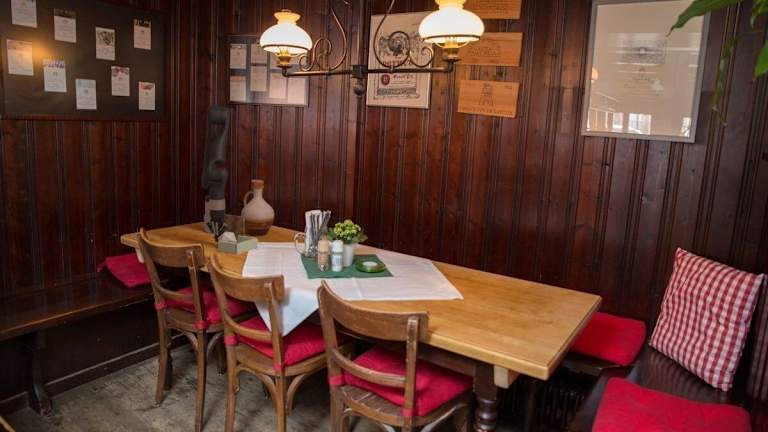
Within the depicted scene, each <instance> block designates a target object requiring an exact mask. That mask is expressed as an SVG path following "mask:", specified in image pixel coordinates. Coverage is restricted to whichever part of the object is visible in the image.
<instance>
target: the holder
mask: <svg viewBox="0 0 768 432" xmlns="http://www.w3.org/2000/svg"><path fill="white" fill-rule="evenodd" d="M258 240H259V239H258V237H253V236H251V237H250V236H246V235H245V236H240V235H239V236H238V243H231V242H225V241H218V242H217V243H218V244H217V249H218V252H219V253H226V254H227V253H228V254H233V255H240V254H244V253H246V252H249V251H253V250H255V248H256V249H258V248H259V247H258V242H259V241H258ZM252 249H253V250H252Z"/></svg>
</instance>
